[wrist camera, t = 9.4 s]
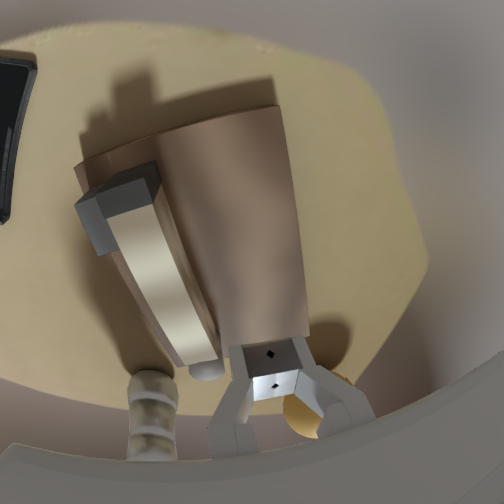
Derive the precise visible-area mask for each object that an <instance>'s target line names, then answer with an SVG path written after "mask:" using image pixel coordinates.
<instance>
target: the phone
mask: <svg viewBox="0 0 504 504" xmlns="http://www.w3.org/2000/svg"><path fill="white" fill-rule="evenodd" d="M36 76H37V65H36V64H35V62H33V61H28V60H21V59H13V58H3V57H0V225H3V224H4V223H6V222H7V221H8V220H9V218H10V212H11V197H12V186H13V178H14V169H15V162H16V156H17V150H18V144H19V139H20V134H21V130H22V125H23V121H24V117H25V113H26V109H27V105H28V102H29V98H30V95H31V91H32V88H33V85H34V82H35V79H36Z"/></svg>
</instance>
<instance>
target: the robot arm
mask: <svg viewBox="0 0 504 504" xmlns="http://www.w3.org/2000/svg"><path fill="white" fill-rule="evenodd" d="M228 352H229V360H230V368H231V375H232V380H233V381H232V382H230V384H229V386H228V388H227V390H226V392H225V394H224V395H223V397H222V399H221V401H220V403H219V405H218V407H217V409H216V411H215V413H214V414H213V416H212V419H211V420H210V422H209V424H208V426H207V434H208V442H209V449H210V456H211V459H203V460H189V461H123V460H110V459H100V458H91V457H83V456H77V455H70V454H64V453H59V452H54V451H49V450H44V449H40V448H35V447H32V446H28V445H24V444H20V443H13V444H11V445H10V446H9V447H8V448H7V449H6V450H5V451H4V452H3V453H2V454H1V455H0V504H504V350H503V351H500V352H498V353H497V354H496V355H494V356H493V357H492V358H490V359H489V360H487V361H486V362H484V363H483V364H481V365H480V366H478V367H477V368H475V369H474V370H472V371H470V372H469V373H467V374H466V375H464V376H462V377H461V378H459V379H457V380H456V381H454V382H452V383H451V384H449V385H447V386H445V387H444V388H442V389H440V390H438V391H436V392H434V393H432V394H430V395H428V396H426V397H424V398H423V399H420V400H418V401H416V402H414V403H412V404H410V405H408V406H406V407H404V408H401V409H399V410H397V411H395V412H392V413H390V414H388V415H385V416H383V417H380V418H378V419H376V417H375V415H374V413H373V411H372V409H371V407H370V405H369V403H368V401H367V399H366V397H365V395H364V393H362V392H361V391H359V390H357V389H356V388H355V387H353V386H351V385H350V384H348V383H347V382H345V381H344V380H342V379H341V378H339V377H337V376H336V375H334V374H333V373H331V372H330V371H328V370H327V369H325V368H324V367H322V366H321V365H317V366H316V363H315V361H314V359H313V356H312V354H311V352H310V349H309V347H308V345H307V342H306V340H305V338H304V336H303V335H297V336H292V337H285V338H280V339H275V340H269V341H265V342H260V343H252V344H244V345H236V346H228ZM293 393H294V394H295V395H296V396H297V397H298V398H299V399H300V400H301V401H303V402H304V403H305V404H306V405H307V406H308V407H309V408H311V409H312V410H313V411H314V412H315V413H317V414H318V415H319V416H320V417H321V418H323V419H322V421H321V423H320V425H319V427H318V429H317V431H316V433H317V436H318V439H316V440H312V441H308V442H304V443H300V444H296V445H292V446H288V447H283V448H278V449H274V450H269V451H263V452H260V450H259V446H258V442H257V438H256V434H255V430H254V426H253V425H252V424H250V423H246V421H247V418H248V416H249V413H250V411H251V408H252V406H253V403H254V401H257V400H262V399H267V398H272V397H277V396H283V395H288V394H293Z"/></svg>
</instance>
